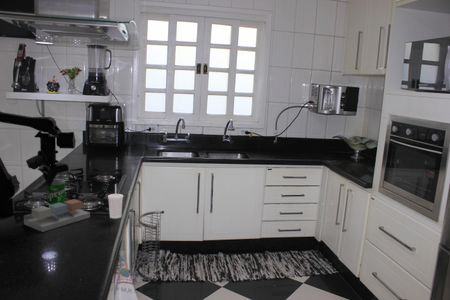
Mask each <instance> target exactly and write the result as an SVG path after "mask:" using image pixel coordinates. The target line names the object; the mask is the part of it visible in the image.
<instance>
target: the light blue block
mask: <svg viewBox="0 0 450 300" xmlns="http://www.w3.org/2000/svg"><path fill="white" fill-rule="evenodd" d="M48 208H50V209H51V214H54V215H59V214H62V213H66V212H67V205H66V204H63V203H60V202H59V203H55V204H51V205H48Z"/></svg>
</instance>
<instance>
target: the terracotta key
mask: <svg viewBox="0 0 450 300" xmlns="http://www.w3.org/2000/svg"><path fill="white" fill-rule="evenodd" d="M64 204H66V205H67V210H70V211H75V210H78V209H80V210H83V201H81V200H80V199H79V200H78V199H75V198H74V199H70V200H66V201H65V202H64Z"/></svg>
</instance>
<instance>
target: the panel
mask: <svg viewBox="0 0 450 300" xmlns="http://www.w3.org/2000/svg"><path fill="white" fill-rule="evenodd" d="M89 218H91V212H89V211H86V210H83V209H78V210H75V211H70V210H67V212H66V213H62V214H59V215H54V214H51V216H50V217H46V218H43V219H37V218H34V217H32V213H29V214H24V215H23V225H26V226H27V227H29V228H32V229H35V230H37V231H39V232H40V233H41V232H42V233H43V232H47V231H51V230H53V229H56V228H59V227H62V226H63V227H64V226H66V225H70V224H74V223H76V222H79V221H83V220H86V219H89Z"/></svg>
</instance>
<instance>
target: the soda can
mask: <svg viewBox="0 0 450 300" xmlns="http://www.w3.org/2000/svg"><path fill="white" fill-rule="evenodd" d="M66 189H67V188H66V179H64V178H63V177H55V178H54V180H53V182H52V184H51V186H48V185H47V184H46V197H47V201H46V202H48V203H49V204H55V203H59V202H60V203H63V204H64V202H65V201H67V200H66V198H67V196H66Z"/></svg>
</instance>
